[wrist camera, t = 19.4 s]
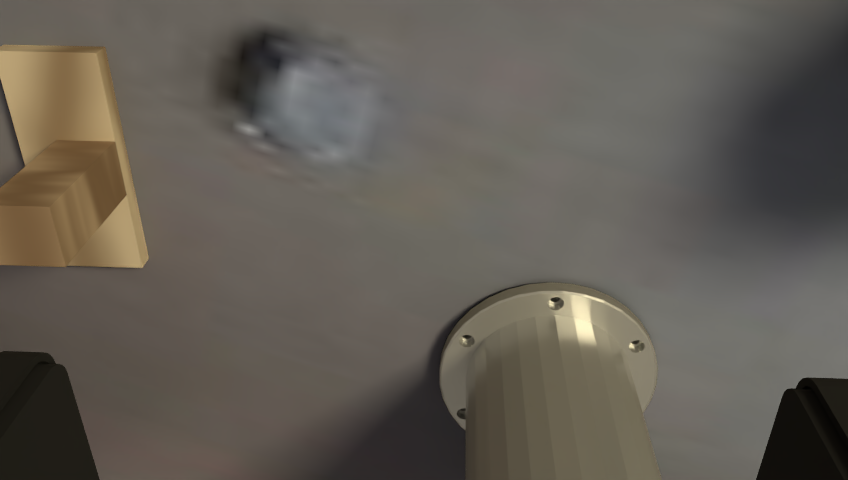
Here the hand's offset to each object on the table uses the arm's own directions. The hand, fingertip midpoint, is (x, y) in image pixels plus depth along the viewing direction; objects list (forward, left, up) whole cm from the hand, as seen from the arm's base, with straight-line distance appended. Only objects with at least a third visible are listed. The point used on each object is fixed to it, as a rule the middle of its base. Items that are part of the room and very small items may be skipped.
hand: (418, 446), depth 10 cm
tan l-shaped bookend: (-9, +18, -29) cm, 35 cm away
